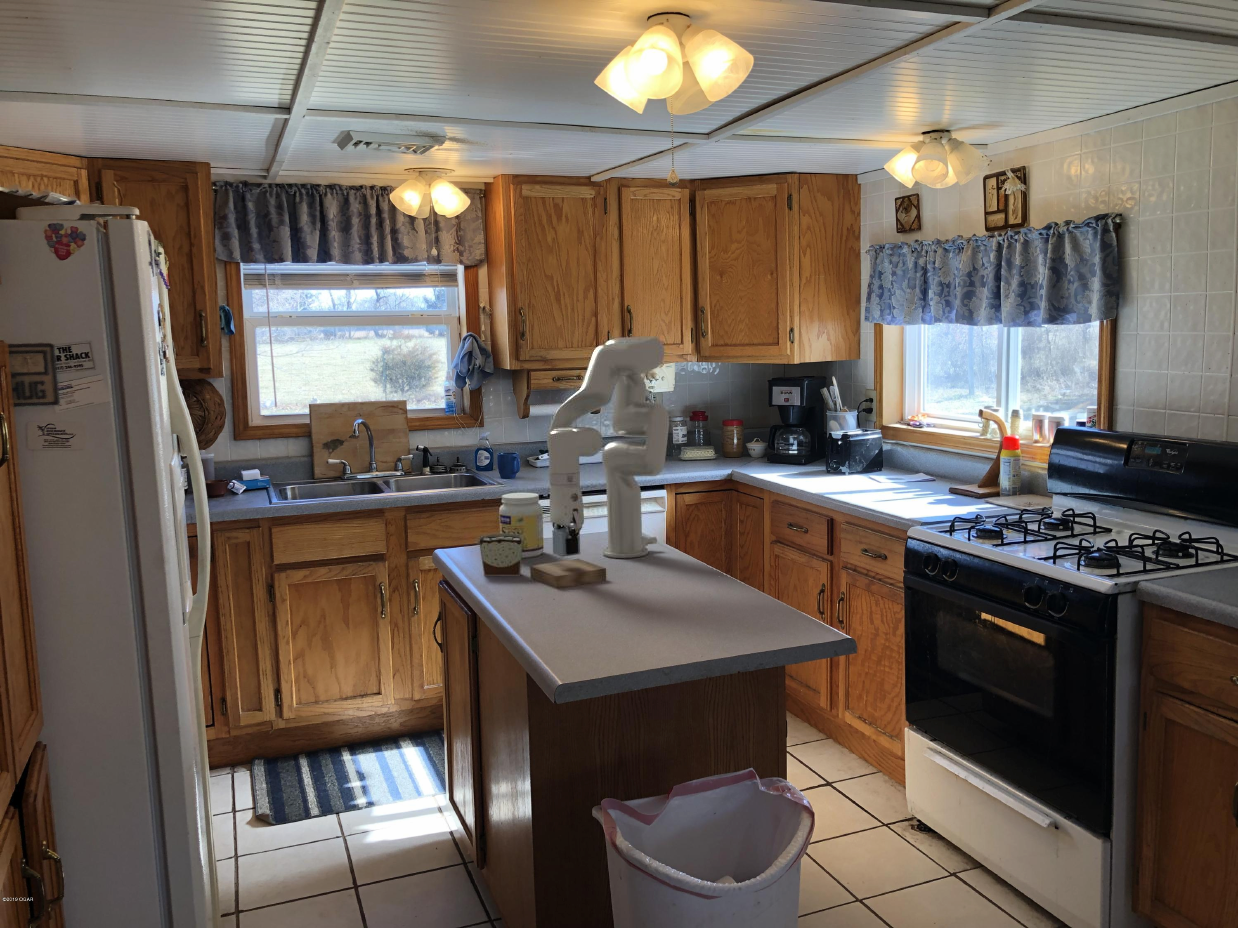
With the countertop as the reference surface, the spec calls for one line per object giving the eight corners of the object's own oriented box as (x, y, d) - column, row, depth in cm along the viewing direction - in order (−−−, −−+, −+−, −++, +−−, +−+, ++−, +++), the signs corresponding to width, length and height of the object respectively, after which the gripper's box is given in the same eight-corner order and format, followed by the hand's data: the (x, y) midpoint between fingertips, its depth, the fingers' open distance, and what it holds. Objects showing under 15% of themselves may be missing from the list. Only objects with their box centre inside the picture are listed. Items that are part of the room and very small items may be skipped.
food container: (530, 570, 260) (528, 532, 258) (525, 575, 254) (524, 537, 252) (484, 570, 261) (482, 532, 260) (478, 575, 255) (476, 537, 254)
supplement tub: (493, 558, 276) (491, 498, 274) (511, 549, 287) (508, 491, 285) (534, 559, 272) (532, 499, 270) (550, 550, 284) (548, 492, 282)
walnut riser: (578, 569, 258) (578, 558, 258) (606, 579, 247) (606, 568, 246) (530, 577, 251) (530, 566, 251) (556, 588, 239) (556, 576, 239)
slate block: (570, 551, 251) (569, 527, 251) (580, 554, 247) (579, 530, 246) (553, 553, 249) (552, 529, 248) (562, 556, 244) (561, 532, 244)
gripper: (595, 481, 241) (596, 555, 243) (561, 475, 255) (563, 545, 257) (567, 484, 237) (569, 559, 239) (535, 477, 251) (537, 548, 253)
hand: (566, 551), depth 248 cm, fingers closed on slate block, 5 cm apart
